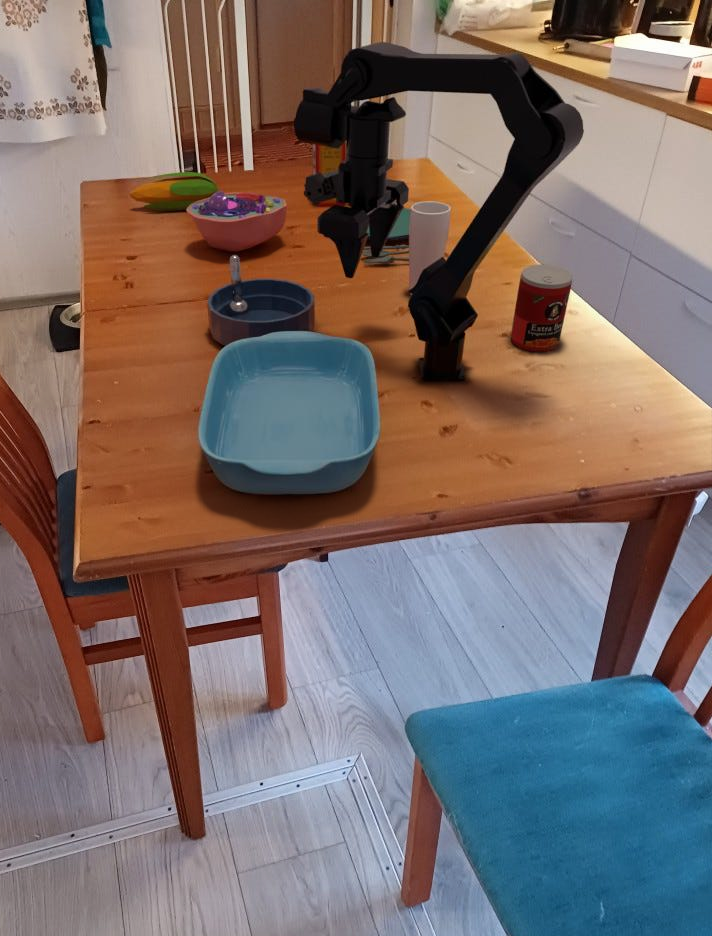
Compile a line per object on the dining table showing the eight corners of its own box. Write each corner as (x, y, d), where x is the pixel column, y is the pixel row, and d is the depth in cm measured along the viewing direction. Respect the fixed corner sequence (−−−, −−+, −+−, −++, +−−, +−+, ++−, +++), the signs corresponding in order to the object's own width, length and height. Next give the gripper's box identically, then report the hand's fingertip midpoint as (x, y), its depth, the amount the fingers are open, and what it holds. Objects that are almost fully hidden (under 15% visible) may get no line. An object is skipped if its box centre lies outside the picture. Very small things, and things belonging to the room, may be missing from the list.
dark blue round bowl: (313, 355, 122) (313, 322, 118) (204, 355, 122) (201, 322, 119) (315, 309, 135) (314, 278, 132) (216, 309, 135) (213, 278, 132)
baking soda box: (312, 193, 185) (312, 119, 175) (340, 192, 186) (340, 118, 175) (316, 206, 178) (315, 129, 168) (344, 205, 178) (345, 128, 168)
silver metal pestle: (254, 318, 130) (250, 252, 123) (245, 327, 127) (240, 260, 120) (233, 315, 131) (228, 249, 124) (224, 324, 128) (218, 258, 121)
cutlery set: (421, 214, 173) (422, 203, 171) (447, 265, 150) (449, 253, 148) (332, 217, 172) (332, 206, 171) (345, 268, 149) (345, 256, 148)
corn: (217, 174, 171) (125, 179, 169) (220, 210, 176) (131, 215, 174) (215, 167, 177) (127, 172, 175) (218, 203, 182) (132, 207, 180)
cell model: (301, 253, 155) (300, 194, 148) (204, 269, 150) (198, 208, 143) (272, 227, 167) (270, 171, 160) (182, 240, 162) (175, 183, 155)
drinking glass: (440, 302, 137) (450, 214, 127) (402, 300, 138) (408, 212, 128) (443, 287, 142) (452, 202, 132) (406, 285, 143) (412, 200, 133)
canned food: (524, 355, 121) (536, 286, 114) (501, 333, 127) (511, 267, 120) (568, 349, 123) (583, 280, 115) (543, 327, 128) (556, 261, 121)
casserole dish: (222, 370, 118) (218, 326, 114) (368, 369, 118) (370, 325, 113) (192, 522, 90) (185, 471, 86) (384, 521, 90) (387, 471, 85)
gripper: (343, 131, 114) (341, 238, 125) (281, 163, 102) (284, 279, 112) (413, 139, 111) (405, 249, 121) (359, 174, 98) (354, 293, 108)
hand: (362, 266), depth 115 cm, fingers open, 9 cm apart
